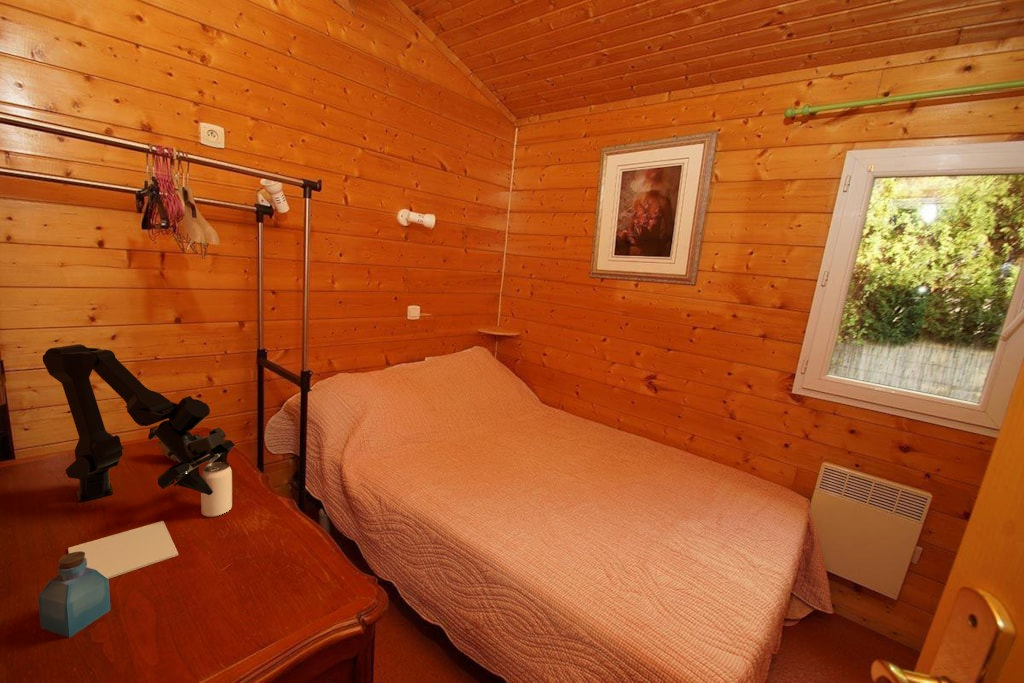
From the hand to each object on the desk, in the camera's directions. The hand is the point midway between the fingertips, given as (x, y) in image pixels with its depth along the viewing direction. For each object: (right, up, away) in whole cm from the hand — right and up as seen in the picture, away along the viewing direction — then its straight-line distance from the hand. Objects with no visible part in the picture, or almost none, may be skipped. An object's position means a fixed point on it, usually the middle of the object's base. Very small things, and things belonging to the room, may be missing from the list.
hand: (221, 487), depth 109 cm
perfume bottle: (-3, -12, -33) cm, 36 cm away
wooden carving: (-30, 0, +25) cm, 39 cm away
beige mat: (-10, -8, -16) cm, 21 cm away
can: (-2, -7, +1) cm, 7 cm away
